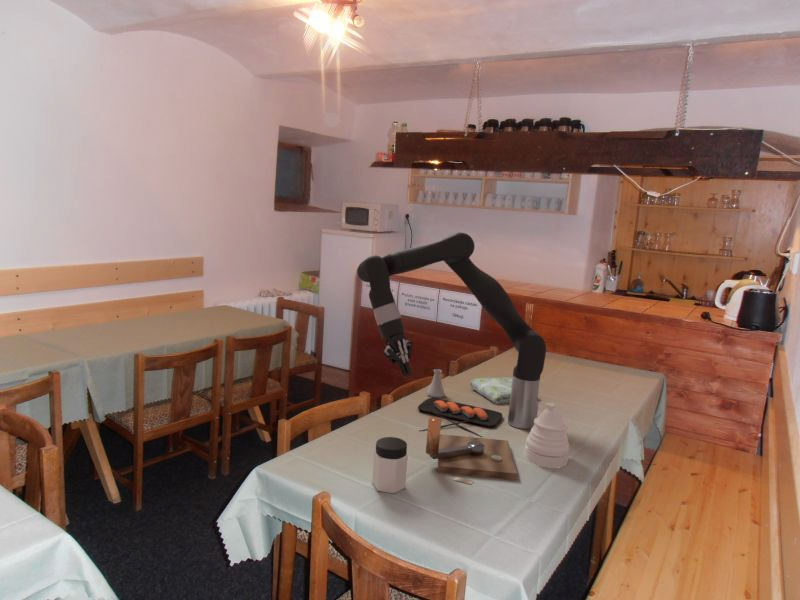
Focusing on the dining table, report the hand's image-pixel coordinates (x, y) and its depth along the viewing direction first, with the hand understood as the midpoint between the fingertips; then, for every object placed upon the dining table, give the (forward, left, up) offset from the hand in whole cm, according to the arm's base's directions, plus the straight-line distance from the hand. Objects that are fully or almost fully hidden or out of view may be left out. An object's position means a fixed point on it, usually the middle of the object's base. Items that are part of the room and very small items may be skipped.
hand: (407, 375), depth 173 cm
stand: (-22, +6, -23) cm, 32 cm away
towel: (-37, -58, -24) cm, 72 cm away
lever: (-16, +7, -21) cm, 27 cm away
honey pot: (-44, -2, -23) cm, 50 cm away
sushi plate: (-16, -25, -24) cm, 38 cm away
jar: (+2, +24, -23) cm, 34 cm away
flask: (-10, -50, -23) cm, 56 cm away
